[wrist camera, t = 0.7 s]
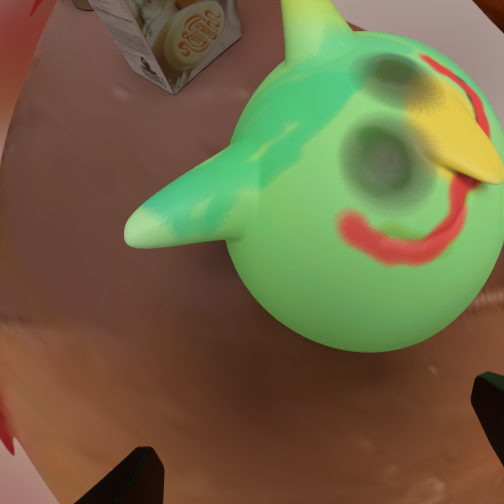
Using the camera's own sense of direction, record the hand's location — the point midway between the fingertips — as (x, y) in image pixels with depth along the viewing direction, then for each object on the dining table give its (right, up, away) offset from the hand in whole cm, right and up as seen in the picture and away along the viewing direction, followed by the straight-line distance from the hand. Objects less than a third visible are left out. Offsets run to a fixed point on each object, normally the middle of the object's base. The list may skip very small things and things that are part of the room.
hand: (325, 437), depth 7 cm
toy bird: (+5, +8, +17) cm, 19 cm away
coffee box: (-8, +23, +19) cm, 31 cm away
